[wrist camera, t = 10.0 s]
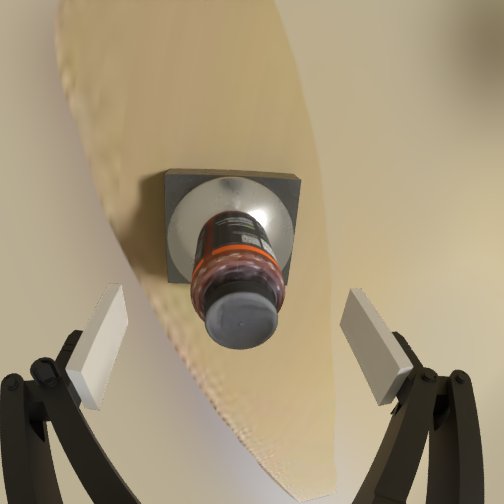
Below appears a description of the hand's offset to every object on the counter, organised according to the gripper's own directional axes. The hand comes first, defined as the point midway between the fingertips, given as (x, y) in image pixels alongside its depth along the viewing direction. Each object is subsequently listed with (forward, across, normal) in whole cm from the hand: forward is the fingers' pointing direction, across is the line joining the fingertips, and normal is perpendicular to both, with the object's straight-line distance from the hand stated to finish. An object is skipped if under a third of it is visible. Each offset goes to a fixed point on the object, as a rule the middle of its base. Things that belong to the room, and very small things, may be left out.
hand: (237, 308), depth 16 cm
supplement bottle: (+10, 0, 0) cm, 10 cm away
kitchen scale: (+15, 0, 0) cm, 15 cm away
